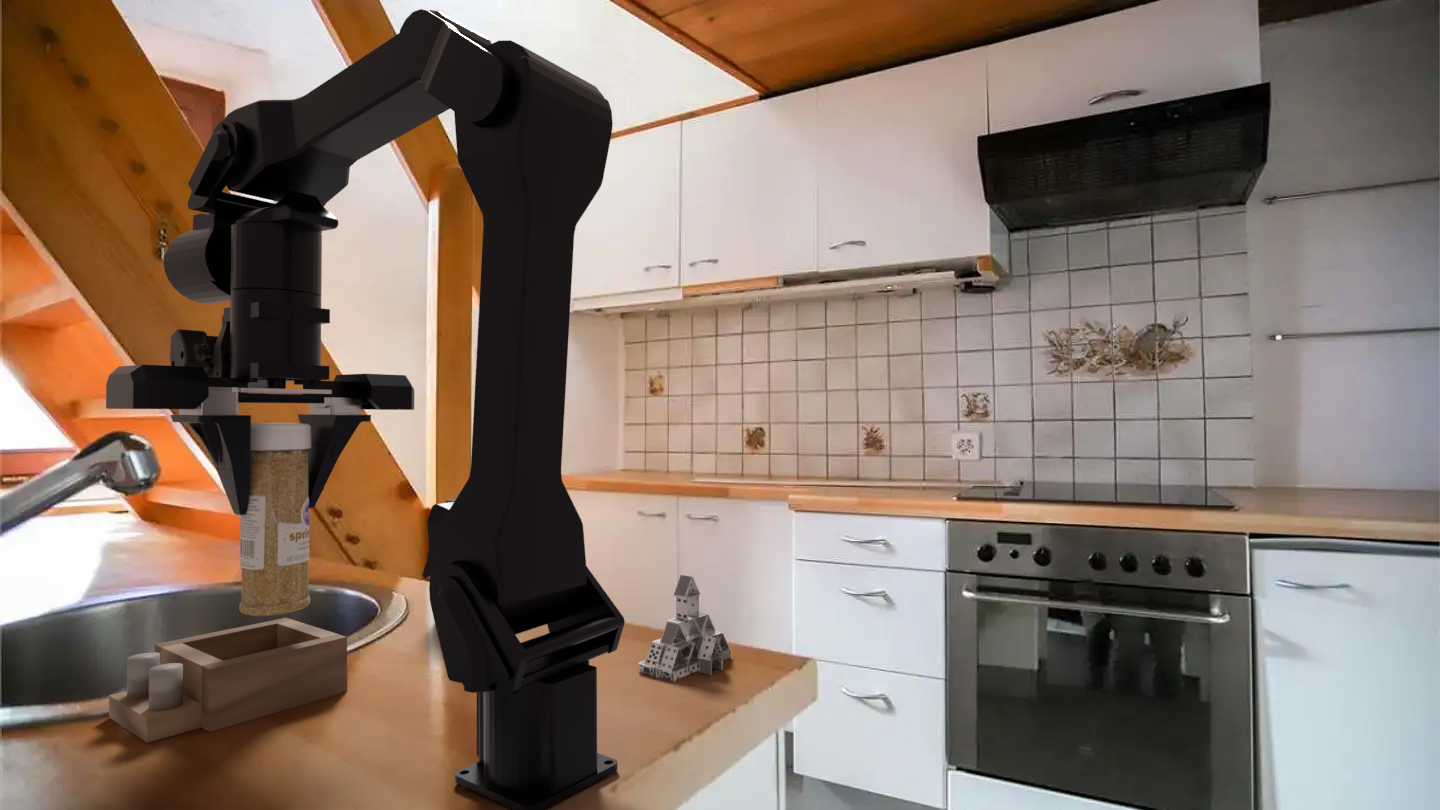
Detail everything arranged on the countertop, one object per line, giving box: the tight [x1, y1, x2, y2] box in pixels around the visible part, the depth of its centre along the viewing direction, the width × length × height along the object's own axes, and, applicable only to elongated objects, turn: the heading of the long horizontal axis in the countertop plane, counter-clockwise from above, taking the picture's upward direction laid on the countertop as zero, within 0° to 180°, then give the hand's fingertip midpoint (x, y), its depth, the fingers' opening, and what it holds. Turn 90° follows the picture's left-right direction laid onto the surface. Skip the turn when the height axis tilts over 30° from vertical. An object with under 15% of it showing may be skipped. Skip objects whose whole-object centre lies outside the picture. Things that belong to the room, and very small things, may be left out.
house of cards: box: [637, 574, 732, 683], centre depth 60 cm, size 9×9×8 cm
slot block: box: [108, 617, 348, 744], centre depth 56 cm, size 10×12×4 cm
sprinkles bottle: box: [238, 422, 312, 617], centre depth 57 cm, size 5×5×14 cm
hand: (275, 511), depth 57 cm, fingers closed on sprinkles bottle, 4 cm apart
